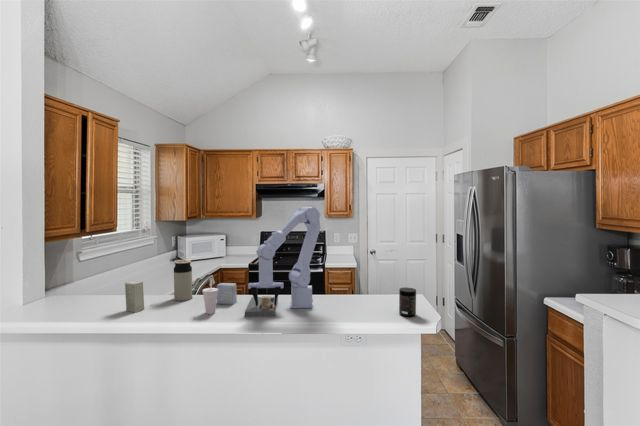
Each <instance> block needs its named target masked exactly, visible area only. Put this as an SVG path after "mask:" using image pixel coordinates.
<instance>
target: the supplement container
mask: <svg viewBox="0 0 640 426" xmlns="http://www.w3.org/2000/svg"><path fill="white" fill-rule="evenodd" d="M398 290H399V292H398V295H399V297H398V298H399V299H398V302H399V305H398V308H399V309H398V315H400V316H401V317H404V318H413V316H414V317H415V316H416V315H417V289H416V288H413V287H400V288H399V289H398Z"/></svg>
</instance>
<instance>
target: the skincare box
mask: <svg viewBox="0 0 640 426" xmlns="http://www.w3.org/2000/svg"><path fill="white" fill-rule="evenodd" d="M124 293H125V308H126V309H125V310H126V312H132V313H138V312H141V311H143V310H145V298H144V296H145V295H144V281H138V280H131V281H128V282H125V283H124Z"/></svg>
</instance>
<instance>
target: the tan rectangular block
mask: <svg viewBox="0 0 640 426" xmlns="http://www.w3.org/2000/svg"><path fill="white" fill-rule="evenodd" d="M271 297H272V295H270V296H269V295H265V296H264V295H263V296H262V298H261V309H271Z"/></svg>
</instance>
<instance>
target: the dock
mask: <svg viewBox="0 0 640 426" xmlns="http://www.w3.org/2000/svg"><path fill="white" fill-rule="evenodd" d="M261 298H262V297H261V296H260V297H259V296H258V306H256V303H255V300H254V297H253V296H252V297H251V298H250V300H249V302H248V304H247V306H246V309H245V310H244V317H275V316H276V311H277V306H278V303H279V302H278V301H279V297H278V298H277V302H276V306H274V301H275V296H271V309H261Z"/></svg>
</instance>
